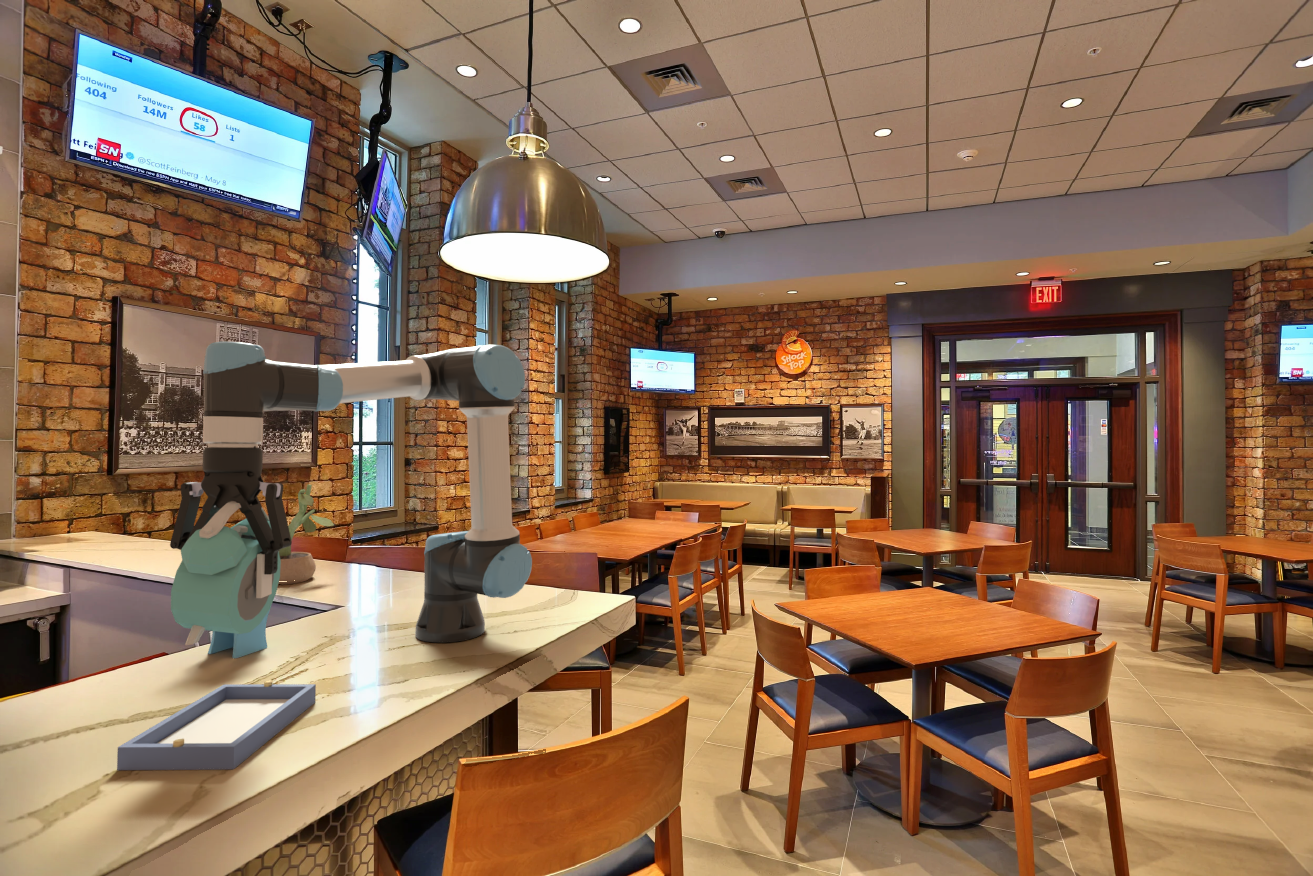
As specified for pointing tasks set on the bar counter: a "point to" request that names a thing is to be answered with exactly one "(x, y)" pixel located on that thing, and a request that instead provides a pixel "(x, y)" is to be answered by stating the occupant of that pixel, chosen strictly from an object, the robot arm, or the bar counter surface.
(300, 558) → the potted plant
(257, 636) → the vase
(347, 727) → the bar counter surface
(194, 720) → the shallow rectangular tray
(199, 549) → the alarm clock
